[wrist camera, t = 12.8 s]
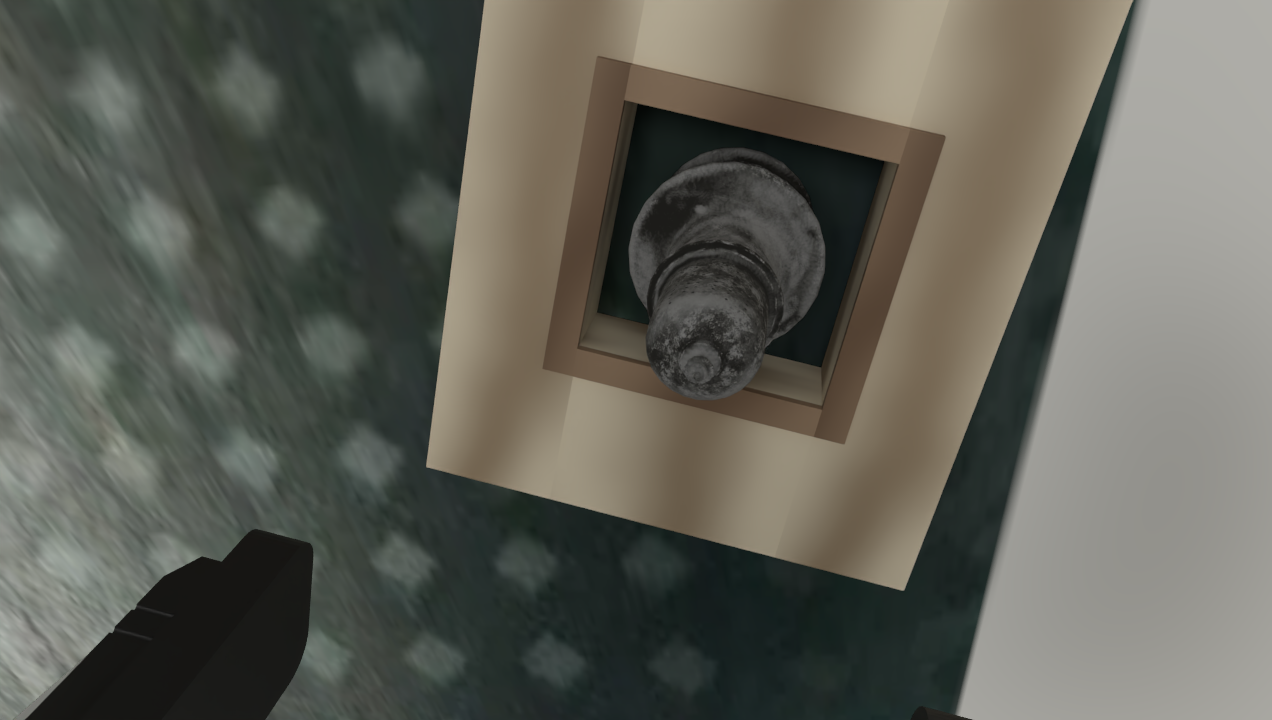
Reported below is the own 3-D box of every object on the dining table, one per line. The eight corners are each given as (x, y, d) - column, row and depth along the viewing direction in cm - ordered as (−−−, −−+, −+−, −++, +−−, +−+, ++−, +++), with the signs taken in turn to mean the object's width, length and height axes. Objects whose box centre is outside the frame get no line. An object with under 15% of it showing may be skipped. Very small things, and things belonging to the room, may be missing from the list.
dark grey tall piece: (809, 321, 34) (809, 509, 23) (638, 298, 35) (561, 471, 24) (837, 148, 32) (852, 269, 21) (653, 127, 32) (574, 234, 22)
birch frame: (453, 427, 38) (423, 471, 35) (533, -156, 30) (502, -165, 27) (897, 541, 37) (904, 596, 34) (1111, -31, 29) (1146, -25, 26)
